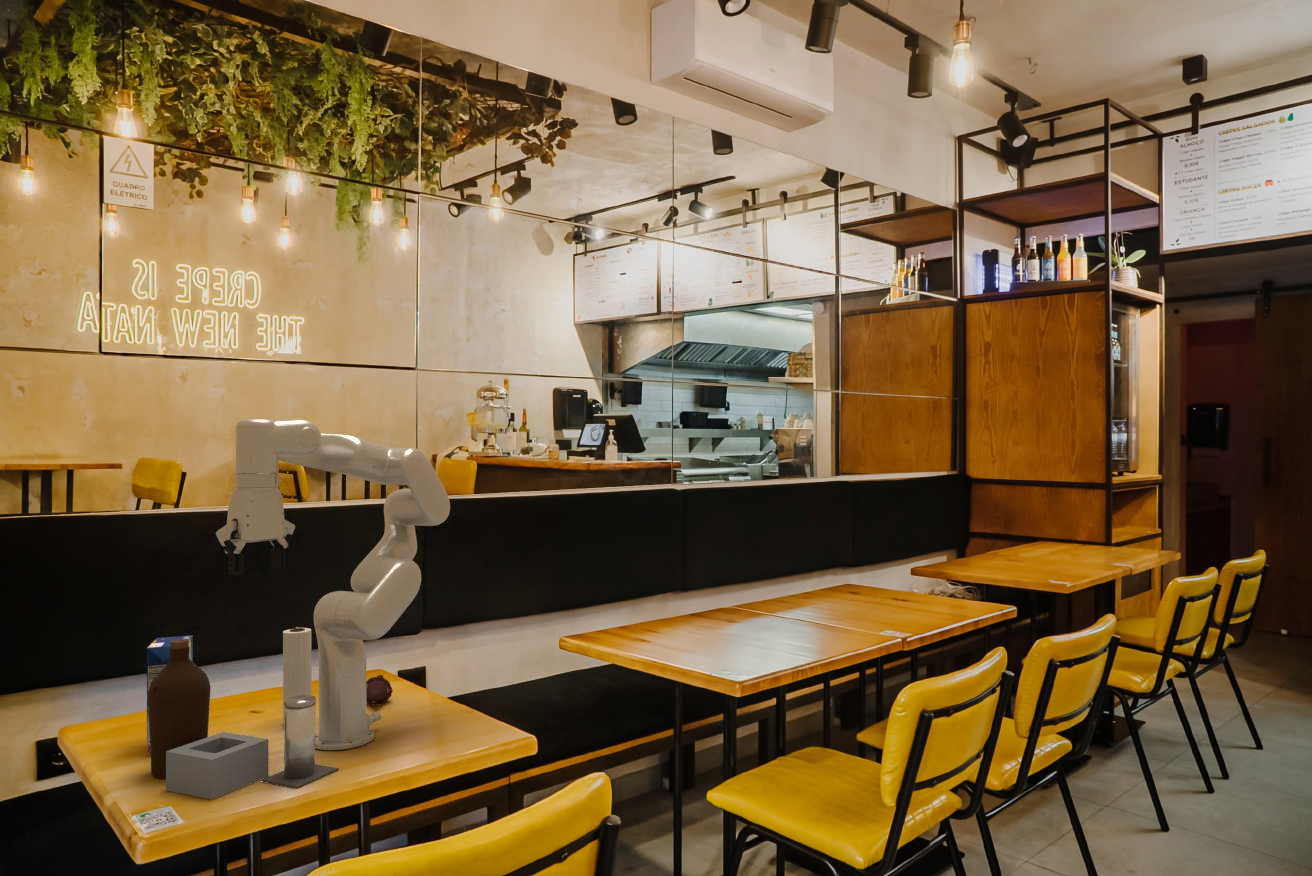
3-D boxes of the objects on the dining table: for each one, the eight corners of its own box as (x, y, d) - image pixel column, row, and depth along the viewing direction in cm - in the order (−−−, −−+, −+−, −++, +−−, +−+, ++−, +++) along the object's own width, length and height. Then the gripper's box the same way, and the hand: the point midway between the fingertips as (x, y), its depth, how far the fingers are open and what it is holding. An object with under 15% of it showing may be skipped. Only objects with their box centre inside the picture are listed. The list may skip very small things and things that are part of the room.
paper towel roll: (301, 728, 189) (301, 632, 190) (277, 727, 190) (277, 631, 191) (320, 719, 196) (319, 626, 197) (296, 718, 197) (295, 625, 198)
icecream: (394, 683, 202) (396, 674, 217) (362, 678, 201) (367, 669, 215) (386, 713, 201) (389, 702, 216) (354, 708, 200) (360, 697, 214)
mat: (303, 764, 166) (303, 762, 166) (338, 770, 163) (338, 768, 163) (261, 781, 157) (261, 779, 157) (297, 788, 154) (297, 786, 154)
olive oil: (196, 779, 159) (196, 645, 160) (136, 782, 158) (136, 647, 159) (219, 759, 170) (219, 634, 170) (163, 762, 169) (164, 635, 169)
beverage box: (146, 757, 172) (146, 647, 173) (156, 740, 182) (156, 637, 183) (184, 752, 174) (184, 644, 175) (192, 736, 185) (192, 635, 185)
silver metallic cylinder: (300, 767, 163) (300, 694, 164) (321, 771, 161) (322, 697, 162) (277, 776, 158) (277, 701, 159) (298, 781, 156) (299, 704, 157)
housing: (223, 768, 165) (223, 731, 165) (268, 776, 160) (268, 739, 160) (165, 790, 154) (165, 751, 154) (212, 799, 149) (212, 759, 149)
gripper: (279, 481, 174) (279, 565, 173) (203, 484, 158) (203, 576, 157) (306, 481, 171) (306, 566, 170) (232, 484, 155) (232, 578, 154)
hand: (257, 571), depth 164 cm, fingers open, 9 cm apart
